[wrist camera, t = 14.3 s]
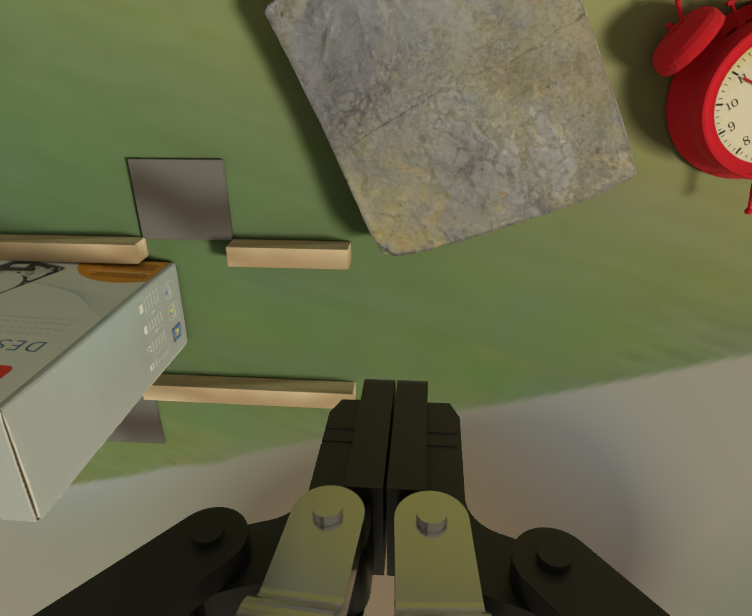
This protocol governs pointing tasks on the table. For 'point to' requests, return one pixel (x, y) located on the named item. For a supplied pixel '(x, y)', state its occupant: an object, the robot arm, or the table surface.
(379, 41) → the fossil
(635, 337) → the table surface
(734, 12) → the alarm clock
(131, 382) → the hard drive box
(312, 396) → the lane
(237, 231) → the table surface
